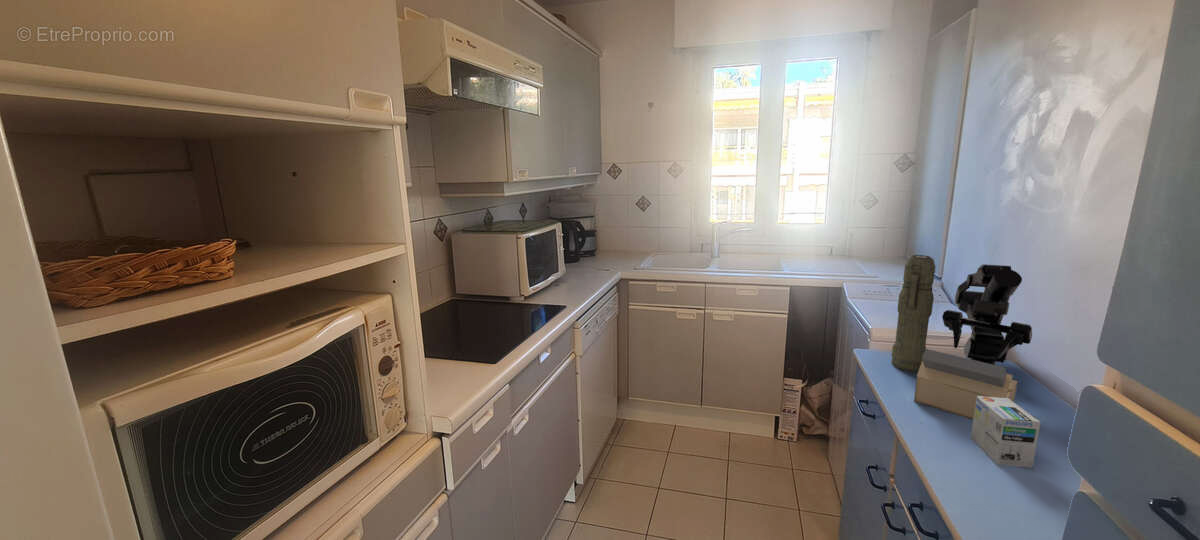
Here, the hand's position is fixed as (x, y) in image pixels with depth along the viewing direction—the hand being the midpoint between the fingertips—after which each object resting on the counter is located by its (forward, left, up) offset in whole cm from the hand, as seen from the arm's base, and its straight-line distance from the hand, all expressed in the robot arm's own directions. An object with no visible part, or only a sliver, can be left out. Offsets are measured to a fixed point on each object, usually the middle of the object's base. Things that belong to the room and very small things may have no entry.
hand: (975, 352), depth 125 cm
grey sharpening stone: (+12, 0, -3) cm, 13 cm away
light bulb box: (+26, +11, -13) cm, 32 cm away
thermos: (-10, -18, -13) cm, 24 cm away
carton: (+7, 0, -12) cm, 15 cm away
